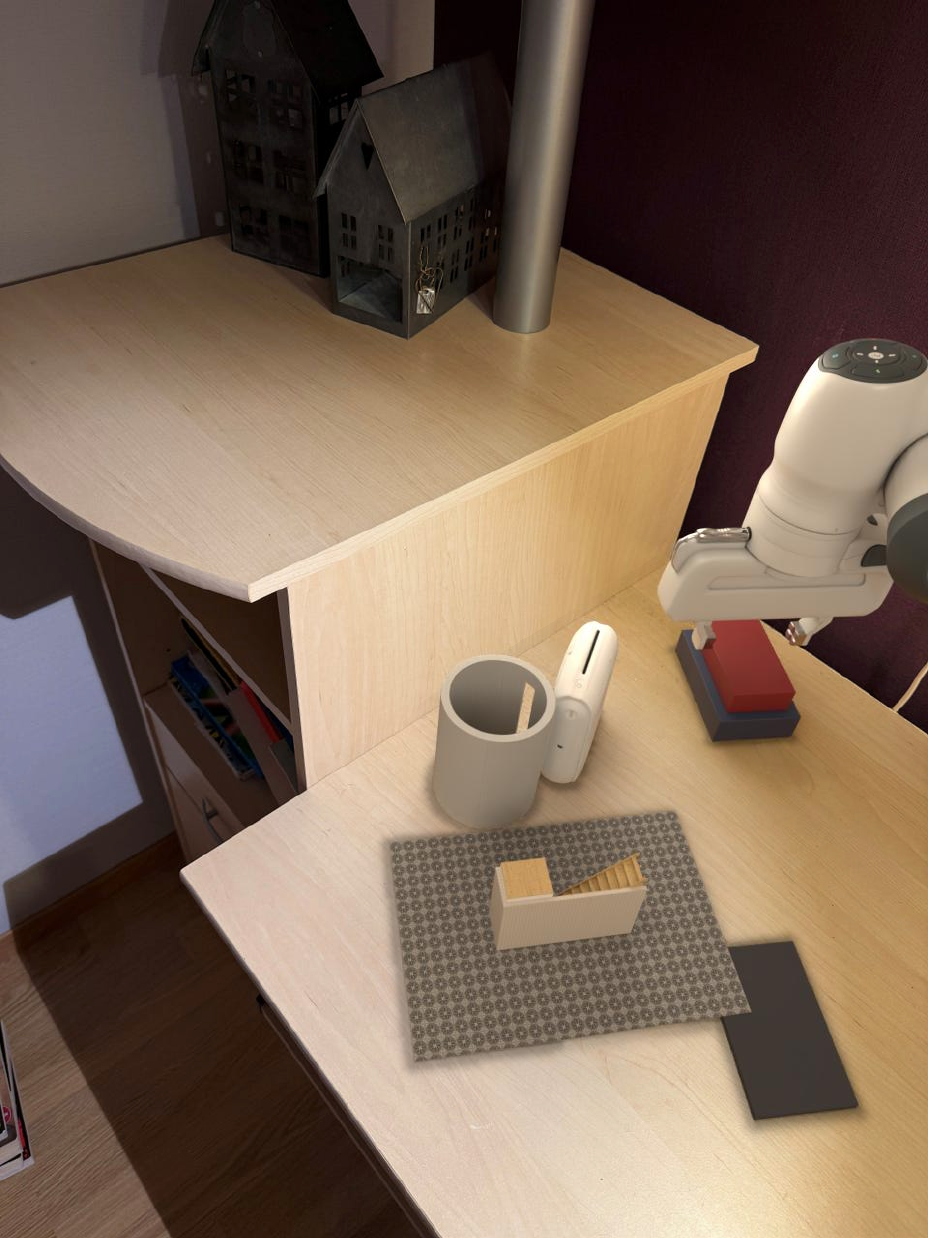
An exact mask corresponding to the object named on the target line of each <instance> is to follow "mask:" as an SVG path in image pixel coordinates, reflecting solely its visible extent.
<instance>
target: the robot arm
mask: <svg viewBox="0 0 928 1238" xmlns="http://www.w3.org/2000/svg"><path fill="white" fill-rule="evenodd" d="M893 584H895V585H896V586H897V587H898V588H899V589H900V590H901V591H902V592H904V593H905V594H906V595H908V596H910V597H911V598H913V599H915V600H916V601H918V602H921V603H922V604H926V605H928V359H927V357H926V356H925V355H924V354H923V353H922V352H921V351H919V350H918V349H916V348H914V347H913V346H910V345H908V344H905V343H902V342H899V341H895V340H892V339H886V338H878V337H877V338H875V337H866V338H857V339H852V340H848V341H843V342H840V343H838V344H836V345H833V346H832V347H830V348H828V349H827V350H825V351H824V352H823V353H822V354H820V355H819V357H817V359H816V360H815V361H814V362H813V364H812V365H810V368H809V369H808V371H807V372H806V374H805V375H804V377H803V379H802V380H801V382H800V383H799V386H798V387H797V390H796V391H795V394H794V395H793V398H792V399H791V402H790V404H789V406H788V409H787V411H786V412H785V415H784V418H783V420H782V422H781V425H780V427H779V430H778V433H777V435H776V438H775V442H774V453H773V459H772V461H771V463H770V465H769V467H767V469H766V470H765V471H764V473H763V474H762V475H761V477H760V479H759V481H758V484H757V486H756V488H755V492H754V494H753V497H752V499H751V502H750V504H749V507H748V510H747V512H746V515H745V518H744V520H743V522H742V525H741V527H725V528H710V527H704V528H699V529H696V530H695V532H694V533H690V534H688V535H686V536H684V537H682V538H679V539H678V540H677V541H676V543H675V545H674V548H673V550H672V554H671V557H670V560H669V561H668V563H667V565H666V568H665V569H664V572H663V573H662V576H661V578H660V579H659V583H658V586H657V589H656V593H657V598H658V601H659V605H660V607H661V608H662V611H663V612H664V614H665V615H666V616H667V618H668V619H669V620H670V622H674V623H688V622H691V623H693V624H694V628H693V629H694V631H693V634H692V642H693V644H694V646H695V649H697V650H699V649H712V648H713V644H714V643H715V641H716V638H717V637H716V635H715V633H714V632H713V631H712V630H713V628H712V626H711V624H712V621H723V620H754V619H759V620H780V619H783V620H784V619H799V620H795V621H794V620H793V621H790V622H789V624H788V628H787V629H786V631H785V638H786V640H787V641H788V644H789V646H791V647H801V646H802V647H803V646H805V647H806V646H807V645H808V644H809V642H810V640H811V638H812V636H813V635H815V634H816V633H818V632H819V631H820V630H822V629H824V628H825V627H826V626H828V625H830V623H832V621H833V619H834V618H840V617H841V618H842V617H845V618H846V617H847V618H848V617H866V616H868V615H870V614H872V613H874V612H875V611H876V610H878V609H879V608H880V607H881V605H883V602H884V600H885V599H886V597H887V596H888V594H889V592H890V590H891V588H892V586H893Z"/></svg>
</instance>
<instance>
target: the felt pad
mask: <svg viewBox="0 0 928 1238" xmlns="http://www.w3.org/2000/svg"><path fill="white" fill-rule="evenodd" d="M727 948H728V951H729V953H730V956H731V959H732V961H733V964H734V966H735V969H736V972H737V974H738V977H739V980H740V982H741V985H742V988H743V990H744V993H745V996H746V998H747V1001H748V1004H749V1006H750V1009H751V1011H752V1012H750V1013H743V1014H736V1015H729V1016H723V1017H719V1019H720V1021H721V1024H722V1027H723V1030H724V1033H725V1036H726V1039H727V1042H728V1045H729V1048H730V1052H731V1055H732V1058H733V1061H734V1064H735V1067H736V1070H737V1073H738V1076H739V1079H740V1082H741V1085H742V1088H743V1092H744V1095H745V1098H746V1100H747V1101H746V1102H747V1104H748V1108H749V1109H750V1113H751V1116H752V1119H753V1121H762V1120H770V1119H779V1118H785V1117H786V1118H787V1117H793V1116H794V1117H795V1116H803V1115H809V1114H811V1115H812V1114H819V1113H825V1112H835V1111H843V1110H851V1109H856V1108H858V1107H859V1106H860V1104H859V1101H858V1099H857V1097H856V1094H855V1092H854V1089H853V1087H852V1084H851V1081H850V1079H849V1077H848V1074H847V1071H846V1069H845V1067H844V1064H843V1062H842V1059H841V1057H840V1054H839V1052H838V1050H837V1046H836V1044H835V1042H834V1039H833V1037H832V1035H831V1032H830V1029H829V1027H828V1024H827V1022H826V1020H825V1017H824V1015H823V1012H822V1010H821V1008H820V1005H819V1002H818V1000H817V998H816V994H815V992H814V989H813V987H812V984H811V982H810V979H809V977H808V975H807V972H806V970H805V968H804V965H803V961H802V960H801V957H800V956H799V952H798V950H797V948H796V946H795V943H794V941H793V940H787V941H778V942H766V943H758V944H757V943H756V944H746V945H736V946H727Z"/></svg>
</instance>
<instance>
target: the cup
mask: <svg viewBox="0 0 928 1238" xmlns="http://www.w3.org/2000/svg"><path fill="white" fill-rule="evenodd" d="M526 684H528V685H529V686H530V687H531V688H532V689H533V690H534V692H533V697H532V703H531V706H530V707H531V708H530V712H529V717H528V722H527V728H526V729H525V730H523V731H520V732H518V727H519V721H520V717H521V711H522V706H523V699H524V694H525V691H526V690H525V689H526ZM553 689H554V688H553V686H552V684H551V682H550V681H549V679H548V677H547V676H546V675H544V673H543V672H542V671H541V670H540V669H538V668H537V667H536V666H534V665H532V664H531V663H529V662H528V661H526V660H523V659H521V658H518V657H515V656H512V655H509V654H508V655H506V654H501V653H500V654H499V653H488V654H487V653H485V654H478V655H476V656H475V655H474V656H471V657H469V658H466V659H464V660H462V661H460V662H458V663H457V664H456V665H455V666H453V667H452V668H451V669H450V670H449V671H448V673H447V674H446V676H444V679H443V681H442V684H441V688H440V694H439V706H438V719H437V727H436V728H437V729H436V741H435V750H434V751H435V753H434V765H433V773H432V789H433V793H434V797H435V799H436V800H437V803H438V805H439V806H440V807H441V809H442V810H443V811H444V812H445V813H446V814H447V815H448V816H449V817H451V818H452V819H453V820H455V821H456V822H458V823H460V824H463V825H464V826H467V827H470V828H473V829H475V828H476V829H482V830H497V829H501V828H505V827H508V826H510V825H513V824H515V823H516V822H518V821H519V820H521V819H522V818H523V817H524V816H525V815H526V814H527V813H528V812H529V811H530V809H531V807H532V806H533V804H534V801H535V798H536V794H537V790H538V786H539V780H540V777H541V773H542V772H541V768H542V763H543V759H544V755H545V750H546V746H547V741H548V737H549V733H550V728H551V724H552V719H553V715H554V711H555V695H554V690H553Z"/></svg>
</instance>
